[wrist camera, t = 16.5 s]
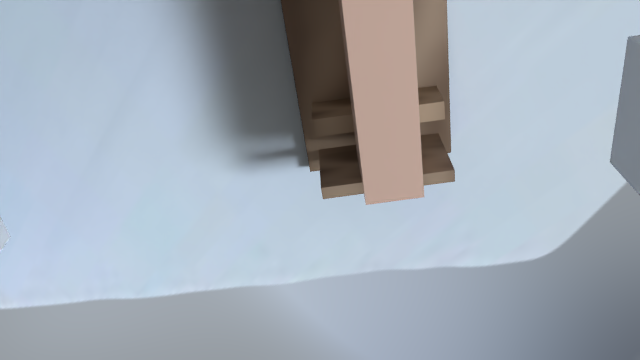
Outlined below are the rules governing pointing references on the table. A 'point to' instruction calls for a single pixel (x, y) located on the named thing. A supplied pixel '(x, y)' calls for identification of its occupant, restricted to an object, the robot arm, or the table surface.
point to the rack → (334, 97)
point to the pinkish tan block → (384, 96)
